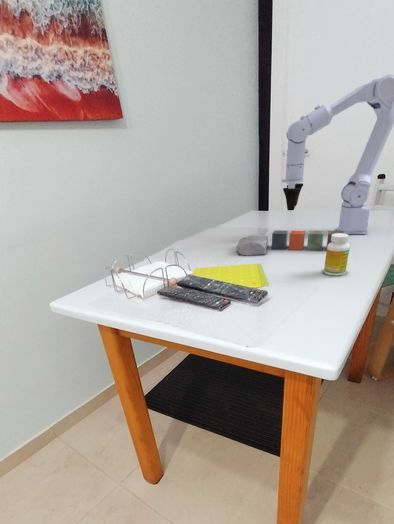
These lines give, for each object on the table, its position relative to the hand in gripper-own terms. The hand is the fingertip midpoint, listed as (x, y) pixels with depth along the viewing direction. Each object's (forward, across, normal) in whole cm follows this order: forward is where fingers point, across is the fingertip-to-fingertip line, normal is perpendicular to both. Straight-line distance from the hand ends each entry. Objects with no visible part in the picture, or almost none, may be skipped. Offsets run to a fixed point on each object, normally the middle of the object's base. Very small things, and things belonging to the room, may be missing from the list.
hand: (292, 208), depth 119 cm
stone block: (+10, +20, -10) cm, 24 cm away
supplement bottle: (+10, +38, +16) cm, 42 cm away
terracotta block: (+9, +16, +4) cm, 19 cm away
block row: (+9, +16, +7) cm, 20 cm away
